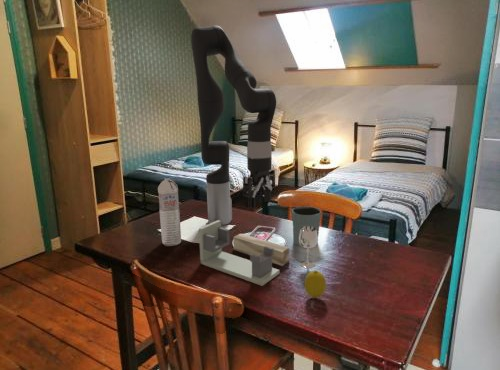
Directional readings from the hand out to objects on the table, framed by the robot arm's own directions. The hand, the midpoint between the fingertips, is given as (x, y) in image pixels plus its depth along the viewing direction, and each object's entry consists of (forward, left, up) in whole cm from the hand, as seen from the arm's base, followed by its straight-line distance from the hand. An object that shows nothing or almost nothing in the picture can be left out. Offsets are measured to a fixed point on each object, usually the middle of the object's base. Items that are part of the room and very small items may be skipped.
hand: (259, 204), depth 126 cm
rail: (0, 0, -18) cm, 18 cm away
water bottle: (+10, -32, -18) cm, 38 cm away
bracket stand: (+11, 0, -18) cm, 21 cm away
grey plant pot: (-18, +7, -18) cm, 26 cm away
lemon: (+13, +27, -18) cm, 35 cm away
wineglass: (-3, +16, -18) cm, 24 cm away
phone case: (-14, -10, -18) cm, 25 cm away
